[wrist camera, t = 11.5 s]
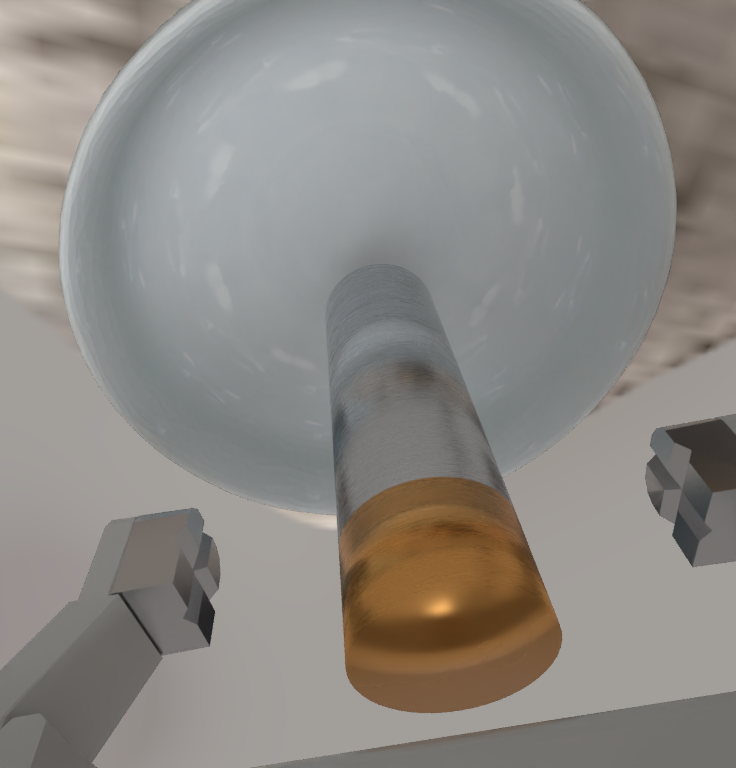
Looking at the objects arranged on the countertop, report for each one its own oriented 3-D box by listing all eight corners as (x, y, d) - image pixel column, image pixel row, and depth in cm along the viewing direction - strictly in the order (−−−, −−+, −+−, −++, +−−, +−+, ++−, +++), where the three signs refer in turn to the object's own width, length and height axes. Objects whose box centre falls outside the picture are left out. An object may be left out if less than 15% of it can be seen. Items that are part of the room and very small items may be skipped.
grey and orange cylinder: (427, 254, 15) (566, 571, 7) (437, 350, 17) (558, 693, 9) (315, 275, 15) (325, 613, 7) (336, 368, 17) (364, 726, 9)
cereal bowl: (343, 460, 29) (352, 583, 23) (26, 216, 21) (-81, 309, 15) (658, 232, 23) (774, 318, 17) (392, -220, 15) (444, -337, 9)
